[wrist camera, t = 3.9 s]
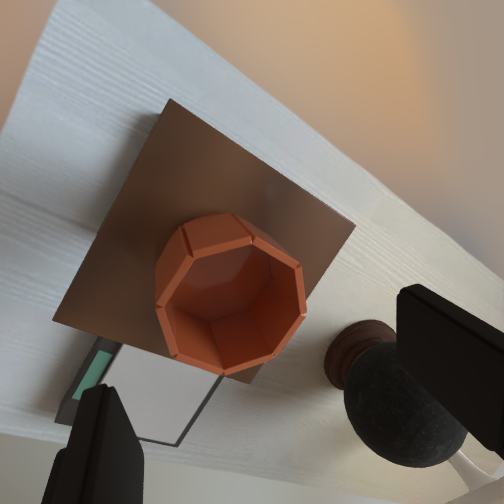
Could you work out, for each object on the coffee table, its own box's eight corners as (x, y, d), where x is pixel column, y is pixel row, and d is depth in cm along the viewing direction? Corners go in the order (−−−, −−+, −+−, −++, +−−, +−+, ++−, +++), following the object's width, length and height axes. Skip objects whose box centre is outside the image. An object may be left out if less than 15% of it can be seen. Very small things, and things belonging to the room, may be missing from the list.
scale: (59, 404, 35) (52, 427, 33) (114, 307, 33) (111, 323, 31) (176, 431, 41) (178, 452, 38) (229, 349, 39) (235, 365, 36)
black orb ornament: (312, 400, 46) (379, 513, 33) (323, 319, 42) (405, 411, 28) (391, 384, 50) (481, 480, 36) (409, 308, 45) (519, 384, 32)
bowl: (175, 332, 18) (182, 391, 14) (142, 230, 16) (139, 265, 12) (278, 300, 19) (311, 346, 15) (262, 201, 17) (296, 224, 13)
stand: (98, 229, 30) (51, 321, 16) (160, 113, 29) (169, 97, 14) (209, 280, 35) (249, 385, 21) (268, 183, 33) (357, 225, 19)
